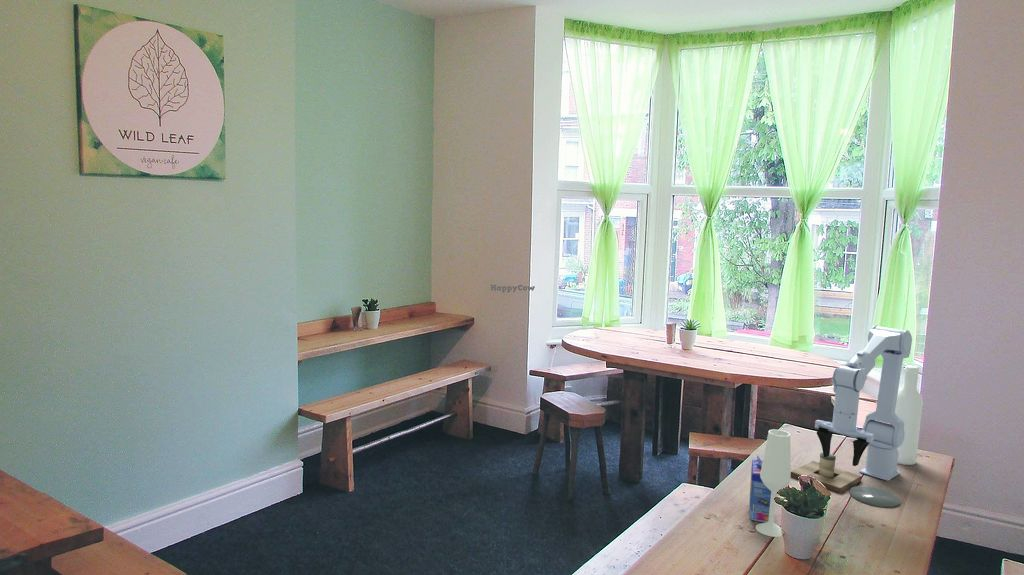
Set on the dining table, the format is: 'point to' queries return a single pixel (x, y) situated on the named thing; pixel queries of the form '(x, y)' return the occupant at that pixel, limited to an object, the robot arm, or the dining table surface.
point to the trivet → (874, 496)
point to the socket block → (837, 483)
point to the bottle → (909, 415)
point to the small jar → (827, 466)
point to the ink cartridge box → (758, 494)
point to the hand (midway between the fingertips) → (840, 460)
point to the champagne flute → (775, 474)
